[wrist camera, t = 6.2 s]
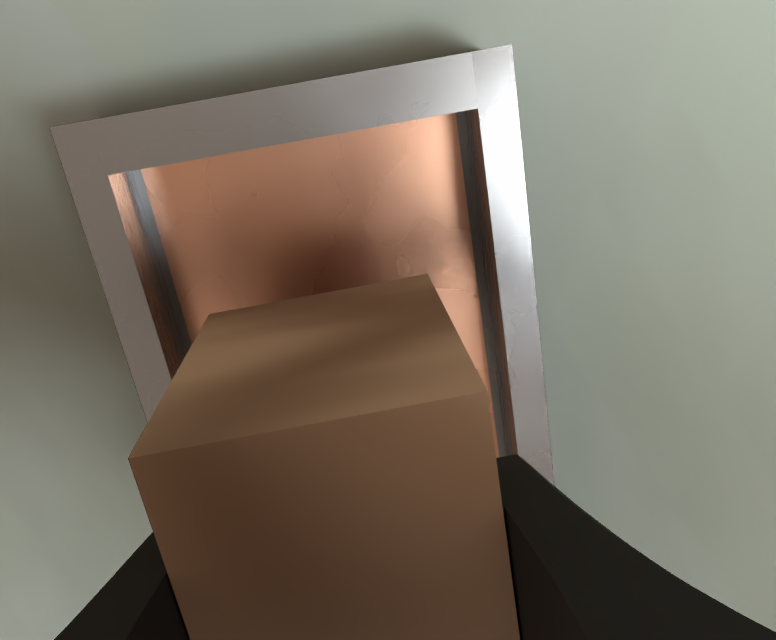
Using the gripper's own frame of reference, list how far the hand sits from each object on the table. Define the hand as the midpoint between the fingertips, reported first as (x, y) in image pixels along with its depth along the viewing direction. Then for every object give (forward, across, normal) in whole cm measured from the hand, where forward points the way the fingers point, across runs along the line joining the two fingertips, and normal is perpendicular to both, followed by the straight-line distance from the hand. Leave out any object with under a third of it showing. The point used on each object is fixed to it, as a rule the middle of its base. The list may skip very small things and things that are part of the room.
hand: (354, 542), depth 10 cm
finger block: (+3, 0, +1) cm, 3 cm away
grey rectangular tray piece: (+7, 0, +4) cm, 8 cm away
